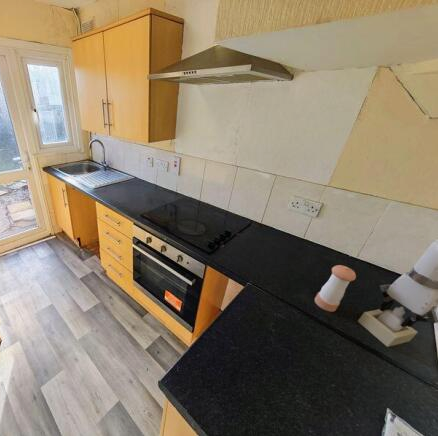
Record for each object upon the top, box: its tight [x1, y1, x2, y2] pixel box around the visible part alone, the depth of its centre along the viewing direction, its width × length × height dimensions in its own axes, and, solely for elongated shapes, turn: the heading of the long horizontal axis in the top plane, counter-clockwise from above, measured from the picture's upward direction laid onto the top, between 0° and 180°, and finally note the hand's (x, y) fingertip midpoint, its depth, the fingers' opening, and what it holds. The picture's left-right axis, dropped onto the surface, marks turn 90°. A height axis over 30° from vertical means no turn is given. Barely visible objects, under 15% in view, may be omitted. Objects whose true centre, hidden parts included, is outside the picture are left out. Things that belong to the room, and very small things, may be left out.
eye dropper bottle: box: [377, 305, 406, 333], centre depth 78 cm, size 4×6×12 cm
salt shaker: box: [314, 264, 357, 313], centre depth 86 cm, size 7×7×19 cm
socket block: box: [357, 308, 418, 348], centre depth 80 cm, size 10×10×5 cm
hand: (394, 317), depth 77 cm, fingers closed on eye dropper bottle, 5 cm apart
